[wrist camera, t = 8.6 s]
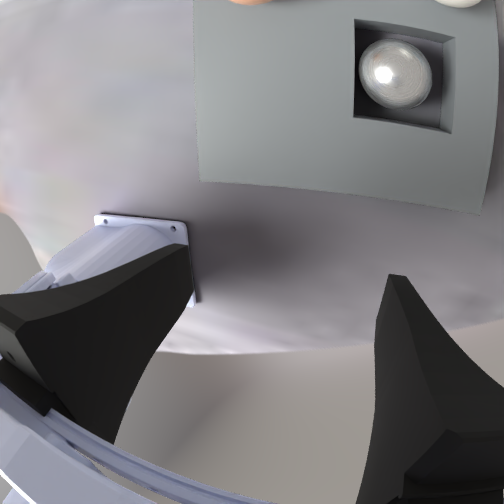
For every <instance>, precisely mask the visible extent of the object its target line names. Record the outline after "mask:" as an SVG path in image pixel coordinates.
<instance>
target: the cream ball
mask: <svg viewBox="0 0 504 504" xmlns="http://www.w3.org/2000/svg"><path fill="white" fill-rule="evenodd" d="M435 1H437V2H439V3H441V4H444V5H447V6H451V7H456V8H465V7H470V6H473V5H475V4H477V3H479V2H480V1H481V0H435Z"/></svg>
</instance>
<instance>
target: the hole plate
mask: <svg viewBox="0 0 504 504" xmlns="http://www.w3.org/2000/svg"><path fill="white" fill-rule="evenodd" d="M354 28H358V29H367V30H375V31H383V32H389V33H396V34H401V35H407V36H412V37H417V38H422V39H426V40H431V41H435V42H439V43H443V81H442V102H441V116H440V127H439V129H438V128H434V127H429V126H424V125H419V124H413V123H408V122H402V121H396V120H389V119H383V118H376V117H368V116H360V115H353V107H354V70H355V38H354ZM193 47H194V86H195V112H196V133H197V151H198V167H199V181H204V182H222V183H237V184H251V185H263V186H275V187H286V188H297V189H306V190H316V191H325V192H333V193H342V194H350V195H358V196H365V197H372V198H380V199H386V200H393V201H400V202H406V203H412V204H419V205H424V206H430V207H436V208H442V209H447V210H453V211H458V212H463V213H468V214H473V215H478V216H480V212H481V208H482V204H483V199H484V195H485V190H486V185H487V180H488V175H489V170H490V164H491V158H492V151H493V144H494V136H495V128H496V117H497V105H498V85H499V48H498V30H497V18H496V8H495V0H481V1H480V2H479V3H477V4H475V5H473V6H470V7H465V8H456V7H451V6H447V5H444V4H441V3H439V2H437V1H435V0H273V1H270V2H268V3H264V4H260V5H242V4H237V3H234V2H231V1H229V0H193Z"/></svg>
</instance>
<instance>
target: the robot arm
mask: <svg viewBox="0 0 504 504" xmlns="http://www.w3.org/2000/svg"><path fill="white" fill-rule="evenodd" d="M106 219H107V220H106ZM94 221H95V227H93V228H92V229H91V230H89V231H88V232H86V233H85V234H83V235H82V236H80V237H79V238H78V239H76V240H75V241H73V242H72V243H71V244H69V245H68V246H66V247H65V248H64V249H62V250H61V251H59V252H58V253H57V254H55V255H54V256H53V257H52V258H51V260H50V261H49V262H48V264H47V266H46V268H45V270H44V271H39V272H38V273H37V274H35V275H34V276H33V277H32V278H30V279H29V280H28V281H27V282H26V283H24V284H23V285H22V286H21V287H19V288H18V289H17V290H16V291H15V292H13V293H12V294H4V295H0V474H1V475H2V477H3V478H4V479H5V480H6V481H7V482H8V483H9V484H10V485H11V486H12V487H13V488H12V490H11V491H10V492H9V494H8V495H7V497H6V498H5V500H4V501H3V503H2V504H157V503H156V502H153V501H151V500H149V499H147V498H145V497H142V496H141V495H139V494H137V493H135V492H133V491H131V490H129V489H127V488H125V487H123V486H121V485H119V484H117V483H116V482H114V481H112V480H110V479H109V478H107V477H106V476H105V475H104V474H103V473H102V472H101V471H99V470H98V469H97V468H96V467H95V466H94V465H93V463H92V462H91V461H90V460H88V459H87V458H86V457H84V456H83V455H81V454H80V453H82V454H84V455H86V456H87V457H89V458H90V459H92V460H94V461H95V462H97V463H99V464H100V465H102V466H104V467H106V468H107V469H109V470H111V471H113V472H115V473H117V474H118V475H120V476H122V477H124V478H126V479H128V480H130V481H132V482H134V483H136V484H138V485H140V486H143V487H145V488H147V489H149V490H151V491H153V492H155V493H158V494H160V495H162V496H165V497H167V498H169V499H172V500H174V501H177V502H179V503H182V504H277V503H272V502H268V501H263V500H259V499H255V498H251V497H247V496H243V495H240V494H236V493H232V492H229V491H225V490H222V489H219V488H216V487H213V486H209V485H206V484H203V483H200V482H198V481H195V480H191V479H189V478H186V477H184V476H181V475H178V474H176V473H173V472H171V471H168V470H166V469H163V468H161V467H159V466H156V465H154V464H152V463H150V462H147V461H145V460H143V459H141V458H139V457H136V456H134V455H132V454H130V453H128V452H126V451H124V450H122V449H120V448H118V447H116V446H114V442H115V439H116V436H117V433H118V430H119V427H120V424H121V421H122V418H123V416H124V413H125V412H126V410H127V409H128V407H129V405H130V402H131V399H132V395H133V392H134V390H135V388H136V386H137V384H138V382H139V380H140V378H141V376H142V374H143V372H144V370H145V368H146V366H147V364H148V363H149V361H150V359H151V358H152V356H153V354H154V353H155V351H156V350H157V348H158V347H159V346H160V344H161V343H162V341H163V340H164V338H165V337H166V336H167V334H168V333H169V331H170V330H171V329H172V327H173V326H174V324H175V323H176V321H177V320H178V319H179V317H180V316H181V314H182V313H183V311H184V310H185V308H186V306H187V307H194V306H195V304H196V297H195V290H194V283H193V275H192V268H191V260H190V252H189V243H188V235H187V227H186V225H185V224H184V223H183V222H178V221H169V220H159V219H149V218H139V217H128V216H118V215H107V214H97V215H95V217H94ZM173 226H174V227H175V228H176V230H175V229H174V228H173ZM374 348H375V349H374V352H375V388H376V389H375V395H376V396H375V398H376V399H375V413H374V420H373V428H372V434H371V440H370V446H369V451H368V457H367V462H366V466H365V470H364V475H363V479H362V483H361V487H360V490H359V494H358V497H357V501H356V504H504V498H503V489H504V388H503V387H502V386H501V385H500V384H498V383H497V382H496V381H495V380H493V379H492V378H491V377H490V376H489V375H487V374H486V373H485V372H484V371H483V370H482V369H481V368H480V367H479V366H478V365H477V364H476V363H475V362H473V361H472V360H471V359H470V358H469V357H468V356H467V354H466V353H465V352H464V351H463V350H462V349H461V348H460V347H459V346H458V345H457V344H456V343H455V341H454V340H453V339H452V338H451V337H450V336H449V335H448V333H447V332H446V331H445V329H444V328H443V327H442V326H441V324H440V323H439V322H438V321H437V319H436V318H435V317H434V315H433V314H432V313H431V311H430V310H429V308H428V307H427V306H426V304H425V303H424V301H423V300H422V298H421V297H420V296H419V294H418V293H417V291H416V290H415V288H414V287H413V285H412V284H411V283H410V281H409V280H408V278H407V277H406V276H401V275H394V274H389V275H388V279H387V283H386V287H385V291H384V294H383V298H382V302H381V305H380V309H379V312H378V316H377V319H376V329H375V342H374ZM75 449H76V450H77V451H79V452H80V453H79V452H77V451H76V450H75Z"/></svg>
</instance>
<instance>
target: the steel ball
mask: <svg viewBox="0 0 504 504" xmlns="http://www.w3.org/2000/svg"><path fill="white" fill-rule="evenodd" d="M358 71H359V78H360V81H361V84H362V86H363V88H364V90H365V91H366V93H367V94H368V95H369V96H370V97H371V98H372V99H373V100H374V101H375V102H377V103H378V104H380V105H382V106H384V107H386V108H389V109H393V110H408V109H411V108H414V107H416V106H418V105H419V104H421V103H422V102H423V101H424V100H425V99H426V98H427V96H428V94H429V93H430V90H431V86H432V72H431V68H430V65H429V63H428V61H427V59H426V58H425V56H424V55H423V54H422V53H421V52H420V51H419V50H418V49H417V48H416V47H415V46H413V45H411V44H410V43H408V42H405V41H403V40H399V39H382V40H379V41H376V42H374V43H373V44H371V45H370V46H369V47H368V48H367V49H366V50H365V51H364V52H363V54H362V56H361V58H360V61H359V69H358Z"/></svg>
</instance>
